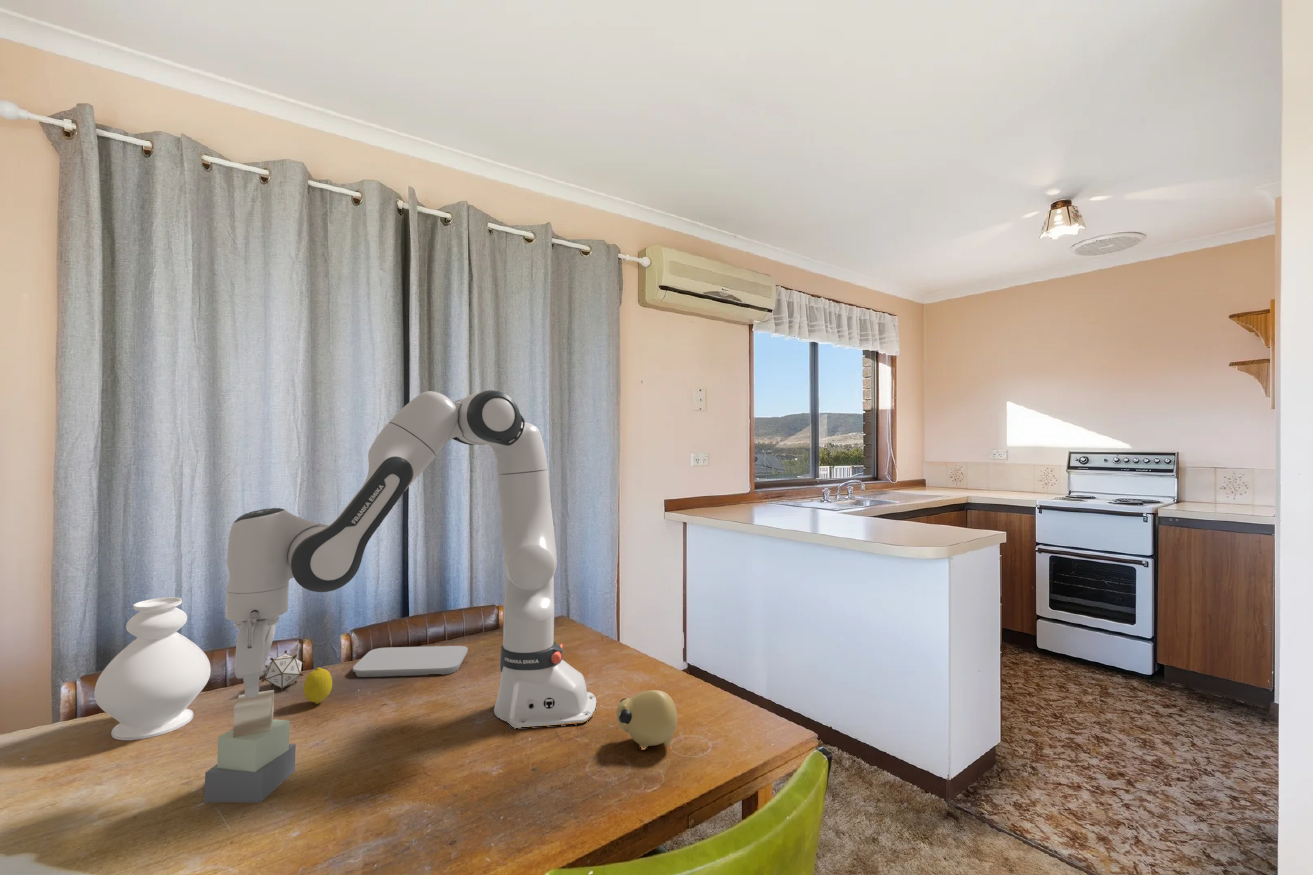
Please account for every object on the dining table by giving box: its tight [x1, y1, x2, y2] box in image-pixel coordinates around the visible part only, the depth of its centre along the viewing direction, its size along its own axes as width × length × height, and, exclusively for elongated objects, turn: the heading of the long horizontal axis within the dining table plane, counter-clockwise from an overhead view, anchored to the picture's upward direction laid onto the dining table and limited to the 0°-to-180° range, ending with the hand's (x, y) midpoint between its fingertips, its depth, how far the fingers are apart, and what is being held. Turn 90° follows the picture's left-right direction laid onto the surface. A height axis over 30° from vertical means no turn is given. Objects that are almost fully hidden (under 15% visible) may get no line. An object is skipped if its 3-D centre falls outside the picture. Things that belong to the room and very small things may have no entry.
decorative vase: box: [93, 596, 212, 741], centre depth 117 cm, size 18×18×25 cm
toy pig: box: [616, 689, 678, 748], centre depth 113 cm, size 10×12×11 cm
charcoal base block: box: [203, 743, 297, 803], centre depth 97 cm, size 9×9×5 cm
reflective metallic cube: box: [232, 689, 275, 738], centre depth 97 cm, size 5×5×5 cm
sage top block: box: [216, 718, 290, 772], centre depth 96 cm, size 7×7×5 cm
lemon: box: [303, 667, 333, 705], centre depth 127 cm, size 6×6×8 cm
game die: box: [260, 649, 307, 693], centre depth 135 cm, size 9×8×10 cm
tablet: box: [352, 645, 469, 678], centre depth 151 cm, size 16×26×2 cm, turn 97°
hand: (255, 685), depth 97 cm, fingers open, 8 cm apart
